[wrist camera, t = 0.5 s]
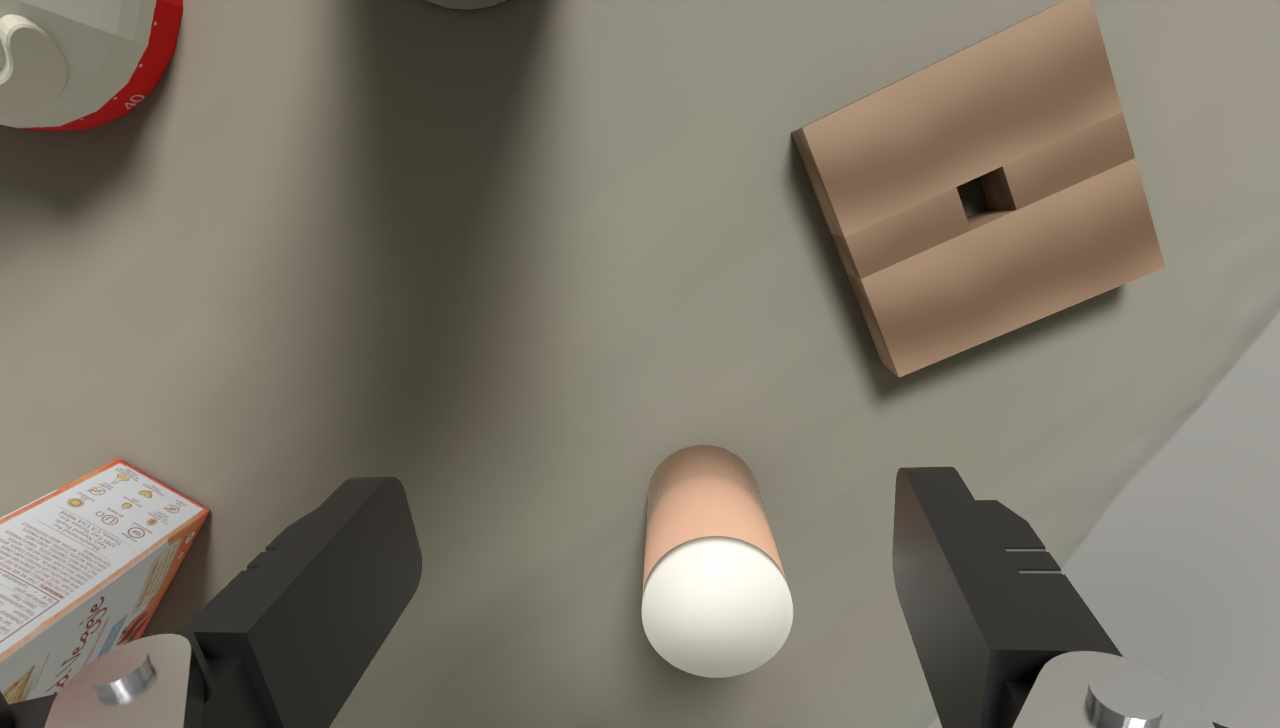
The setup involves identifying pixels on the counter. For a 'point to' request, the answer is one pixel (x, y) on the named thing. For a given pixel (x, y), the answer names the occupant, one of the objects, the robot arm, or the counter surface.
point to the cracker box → (86, 573)
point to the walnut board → (984, 189)
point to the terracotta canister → (712, 567)
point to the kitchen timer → (81, 59)
